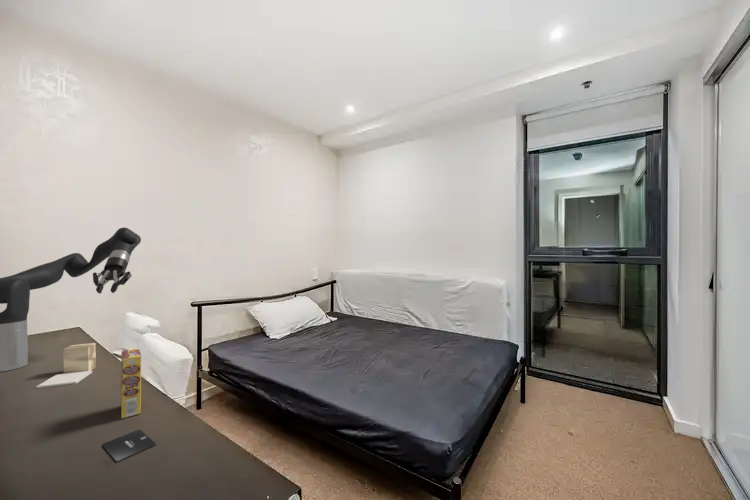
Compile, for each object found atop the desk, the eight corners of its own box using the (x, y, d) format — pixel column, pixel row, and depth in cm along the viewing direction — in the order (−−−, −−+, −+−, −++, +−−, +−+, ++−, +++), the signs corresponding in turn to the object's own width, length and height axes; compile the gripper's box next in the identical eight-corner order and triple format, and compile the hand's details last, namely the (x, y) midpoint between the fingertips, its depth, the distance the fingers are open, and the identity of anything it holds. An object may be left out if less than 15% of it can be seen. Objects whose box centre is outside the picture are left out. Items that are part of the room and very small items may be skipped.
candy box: (142, 413, 82) (141, 355, 82) (121, 419, 80) (120, 359, 80) (140, 401, 89) (139, 347, 89) (121, 406, 87) (120, 350, 87)
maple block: (72, 369, 115) (71, 345, 115) (95, 367, 117) (95, 342, 117) (63, 374, 110) (63, 349, 110) (88, 372, 112) (88, 346, 112)
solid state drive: (139, 431, 75) (139, 429, 75) (156, 447, 69) (156, 443, 69) (101, 447, 69) (101, 444, 69) (116, 465, 63) (116, 461, 63)
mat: (56, 376, 109) (56, 374, 109) (92, 372, 112) (92, 370, 112) (36, 388, 99) (36, 386, 99) (76, 383, 102) (76, 381, 102)
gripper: (138, 267, 148) (128, 296, 137) (101, 268, 144) (87, 298, 132) (134, 256, 143) (123, 285, 132) (95, 256, 139) (80, 287, 127)
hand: (105, 291), depth 132 cm, fingers open, 4 cm apart
